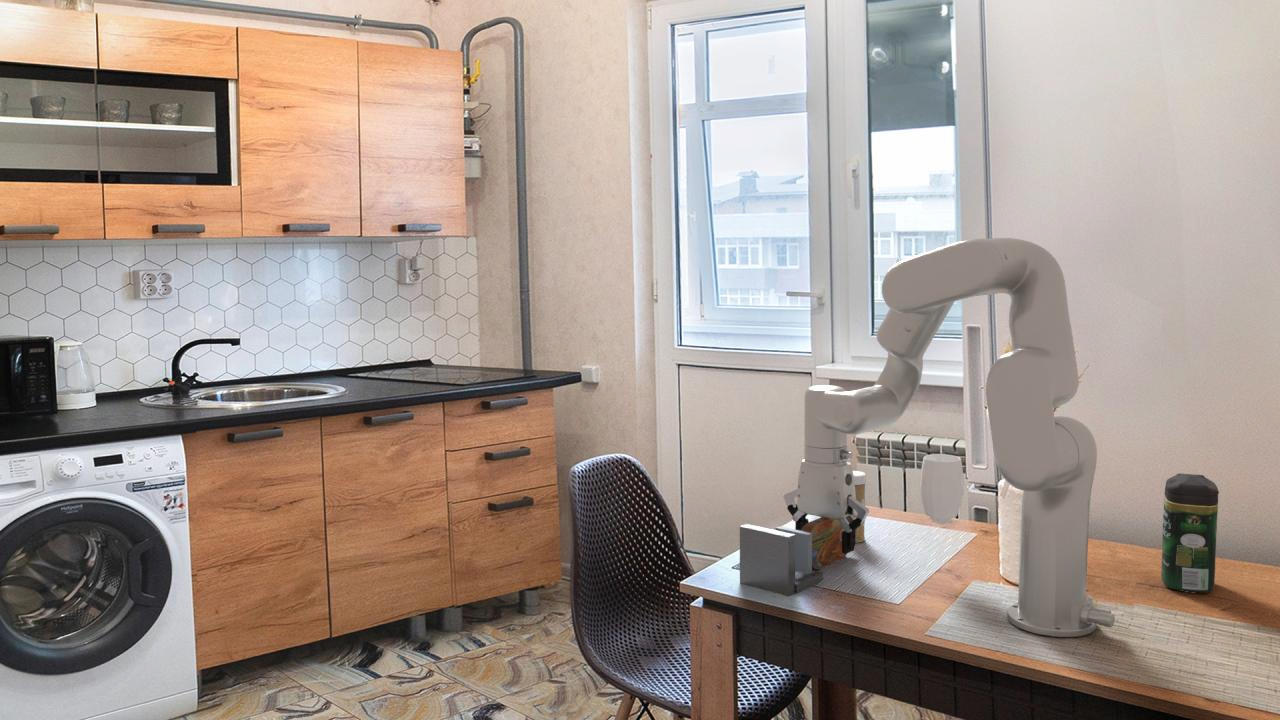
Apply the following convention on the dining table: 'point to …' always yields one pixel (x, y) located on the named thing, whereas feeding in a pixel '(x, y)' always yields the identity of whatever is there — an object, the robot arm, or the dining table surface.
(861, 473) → the sprinkles bottle
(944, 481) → the cup
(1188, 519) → the coffee jar
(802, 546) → the gauge carriage
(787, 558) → the frame
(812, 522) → the tin
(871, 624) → the dining table surface
